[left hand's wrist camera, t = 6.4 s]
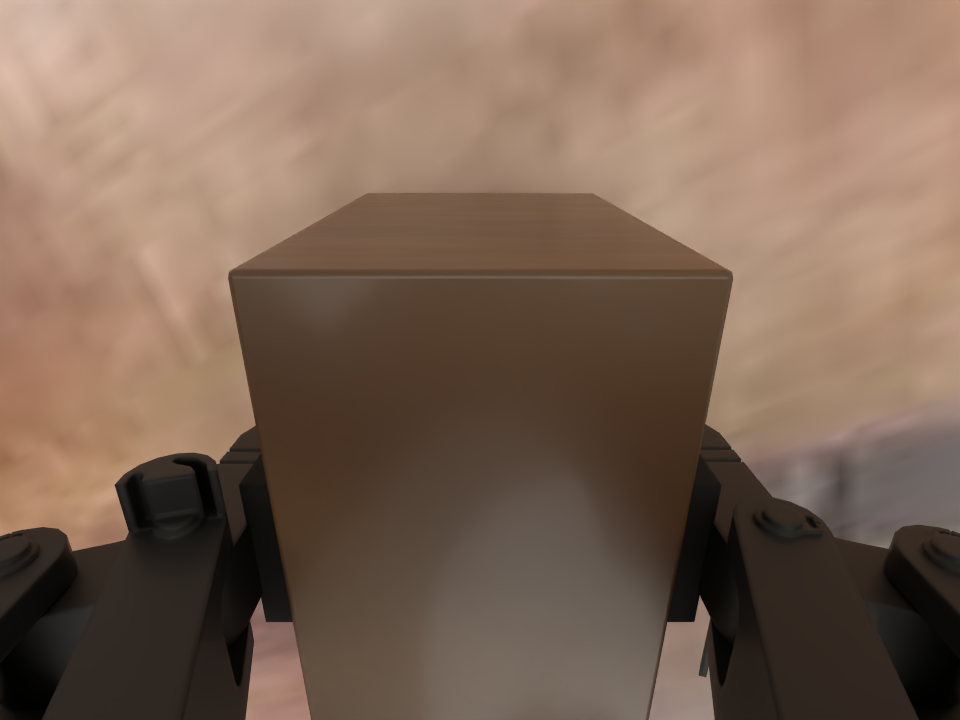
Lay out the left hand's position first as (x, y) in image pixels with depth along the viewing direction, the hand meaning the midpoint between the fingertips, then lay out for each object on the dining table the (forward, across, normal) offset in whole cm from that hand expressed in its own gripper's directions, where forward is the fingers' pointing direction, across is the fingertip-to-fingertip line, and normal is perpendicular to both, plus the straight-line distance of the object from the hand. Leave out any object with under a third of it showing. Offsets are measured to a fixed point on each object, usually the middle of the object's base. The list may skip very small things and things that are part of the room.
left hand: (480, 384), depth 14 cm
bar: (+1, 0, -31) cm, 31 cm away
